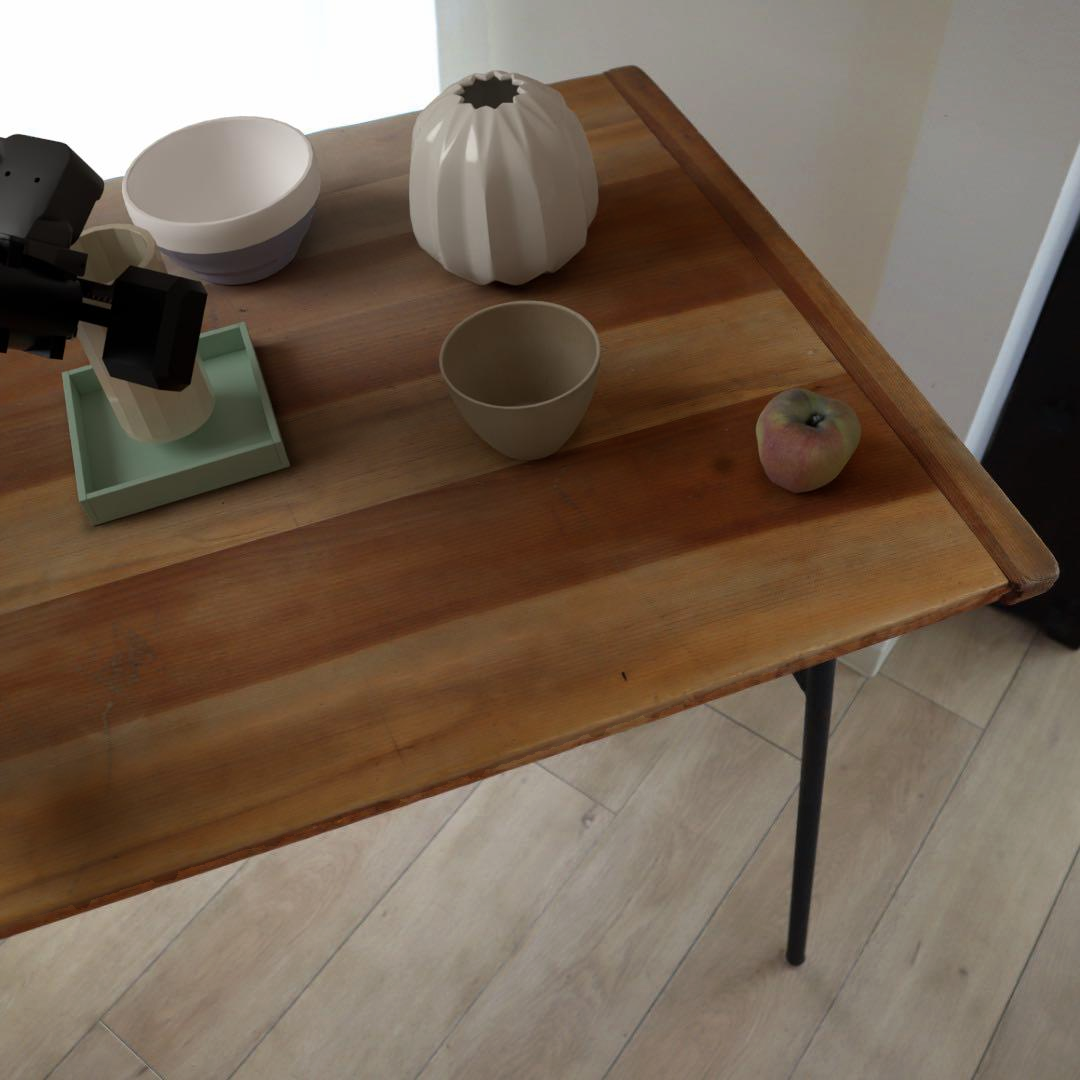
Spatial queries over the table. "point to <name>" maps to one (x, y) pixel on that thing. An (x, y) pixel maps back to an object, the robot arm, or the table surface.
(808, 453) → the apple
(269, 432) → the serving tray
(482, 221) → the vase
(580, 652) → the table surface
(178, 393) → the rice cup
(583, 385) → the flower pot
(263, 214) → the bowl
